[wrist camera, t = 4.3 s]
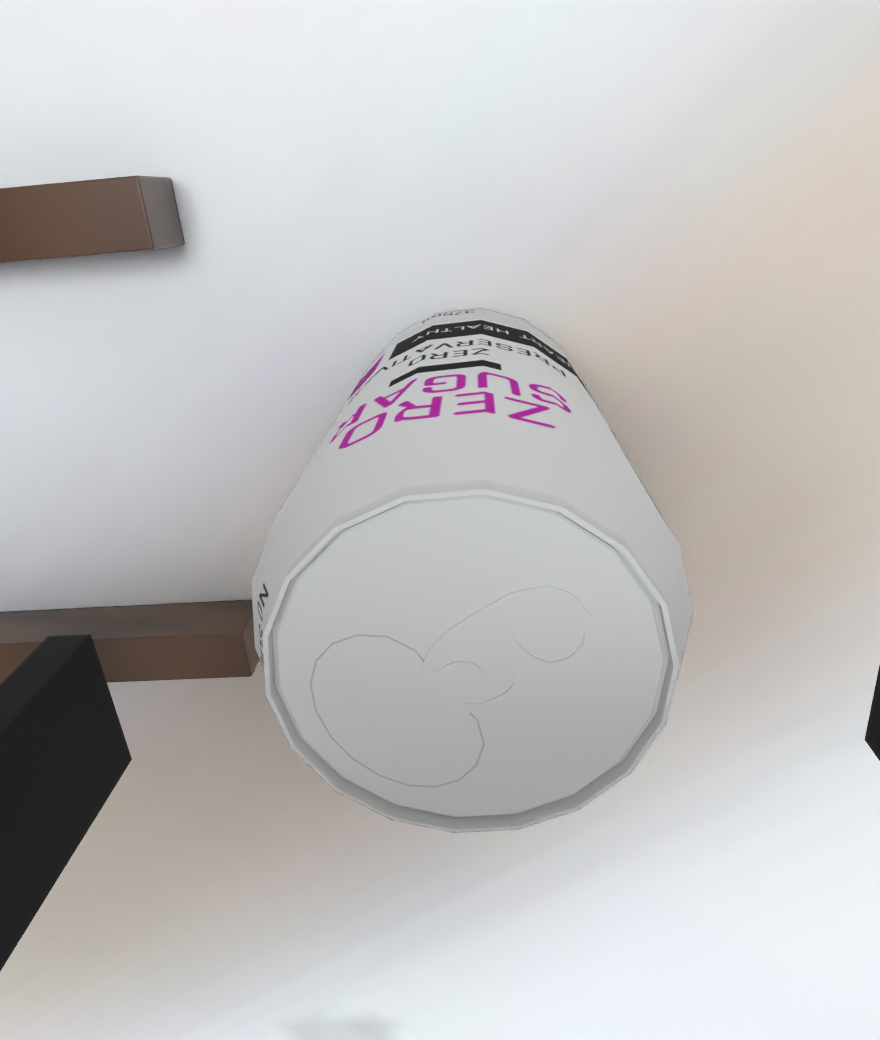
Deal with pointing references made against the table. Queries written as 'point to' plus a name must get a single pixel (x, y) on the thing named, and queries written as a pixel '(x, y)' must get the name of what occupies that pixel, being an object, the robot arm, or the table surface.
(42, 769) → the robot arm
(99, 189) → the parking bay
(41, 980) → the table surface
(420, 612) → the supplement can
